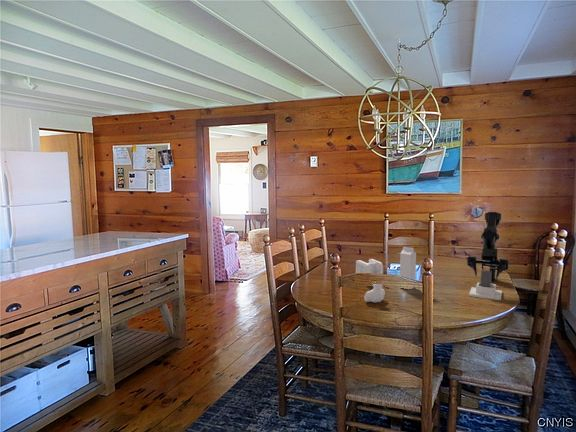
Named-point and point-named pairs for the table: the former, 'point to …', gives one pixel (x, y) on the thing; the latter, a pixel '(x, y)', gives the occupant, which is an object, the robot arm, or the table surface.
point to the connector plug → (486, 276)
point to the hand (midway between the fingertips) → (486, 277)
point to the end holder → (486, 292)
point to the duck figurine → (375, 294)
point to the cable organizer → (369, 267)
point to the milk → (408, 263)
